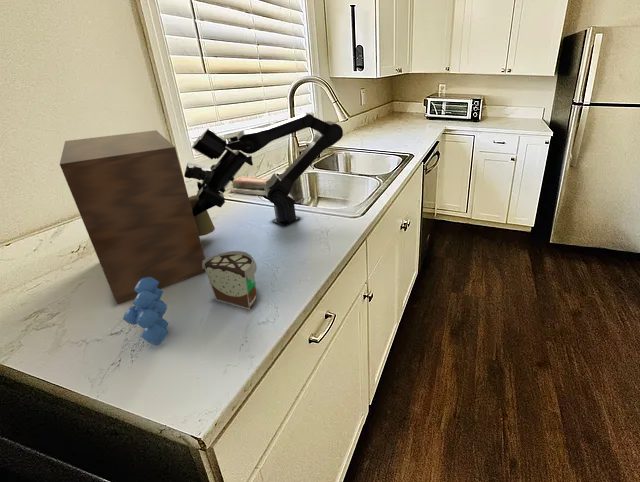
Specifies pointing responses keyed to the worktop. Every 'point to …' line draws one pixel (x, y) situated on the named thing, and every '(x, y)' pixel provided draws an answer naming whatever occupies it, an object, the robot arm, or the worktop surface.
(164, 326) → the grapes
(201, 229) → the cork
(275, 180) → the robot arm
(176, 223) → the cupboard
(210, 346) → the worktop surface
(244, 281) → the food container
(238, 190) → the packaged product
